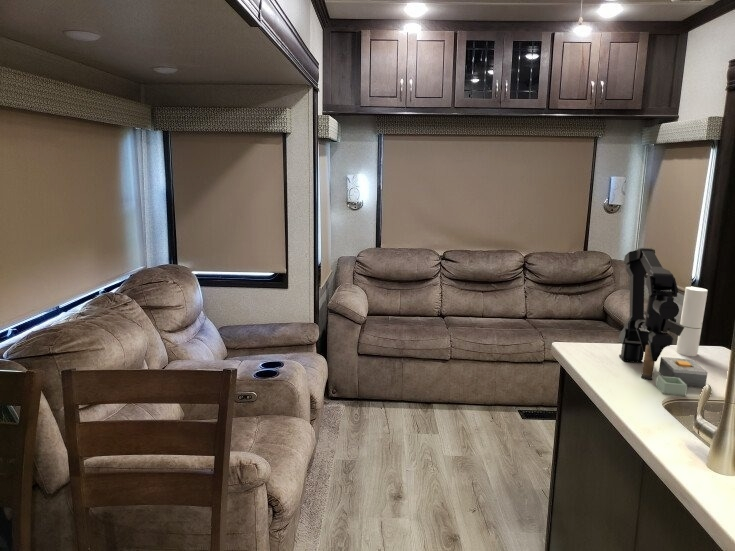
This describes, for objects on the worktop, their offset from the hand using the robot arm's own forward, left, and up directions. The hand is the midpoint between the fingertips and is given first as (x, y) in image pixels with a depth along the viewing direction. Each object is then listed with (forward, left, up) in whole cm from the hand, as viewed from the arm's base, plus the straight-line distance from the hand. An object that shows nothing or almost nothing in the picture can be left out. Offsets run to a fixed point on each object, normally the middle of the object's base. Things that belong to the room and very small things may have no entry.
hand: (649, 356), depth 185 cm
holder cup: (+4, -10, -7) cm, 13 cm away
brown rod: (0, 0, -7) cm, 7 cm away
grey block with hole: (+11, +1, -7) cm, 13 cm away
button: (+11, +1, -5) cm, 12 cm away
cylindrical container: (+24, +32, -8) cm, 41 cm away
